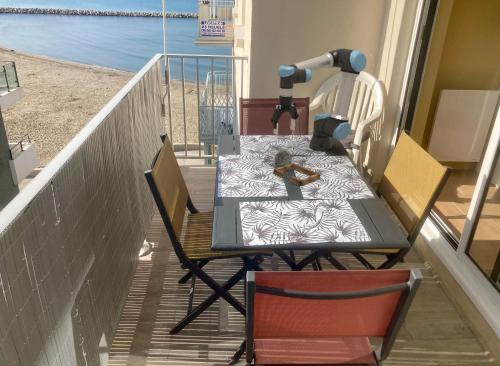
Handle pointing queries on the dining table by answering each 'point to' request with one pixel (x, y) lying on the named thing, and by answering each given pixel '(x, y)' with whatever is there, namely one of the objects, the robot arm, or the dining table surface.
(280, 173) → the frame
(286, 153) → the stone
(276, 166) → the slate coaster
